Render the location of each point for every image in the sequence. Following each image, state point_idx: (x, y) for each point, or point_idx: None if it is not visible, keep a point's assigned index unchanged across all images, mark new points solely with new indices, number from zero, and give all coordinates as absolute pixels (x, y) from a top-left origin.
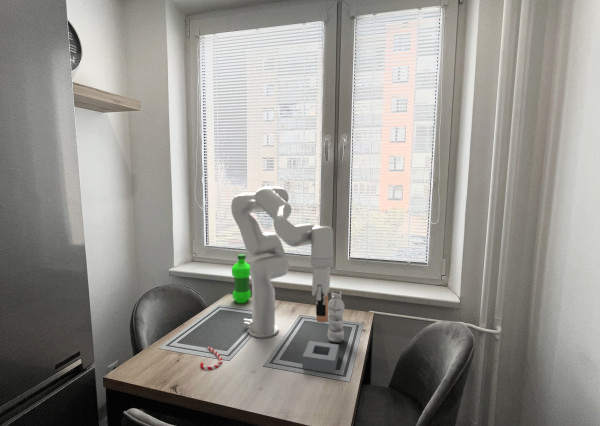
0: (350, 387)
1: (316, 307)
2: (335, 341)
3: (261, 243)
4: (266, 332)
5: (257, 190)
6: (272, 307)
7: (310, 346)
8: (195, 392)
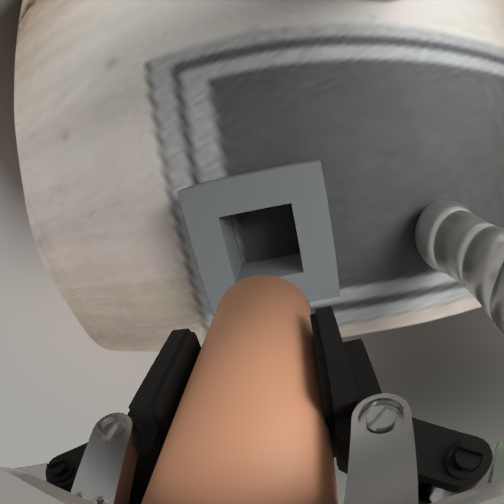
0: None
1: (145, 382)
2: (415, 240)
3: None
4: None
5: None
6: None
7: (269, 187)
8: (23, 43)
